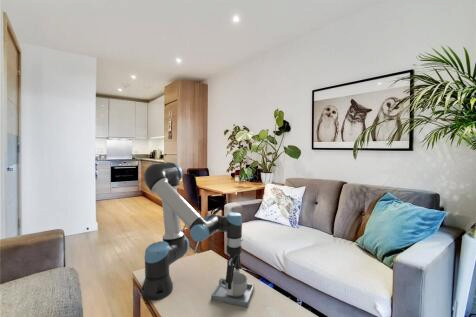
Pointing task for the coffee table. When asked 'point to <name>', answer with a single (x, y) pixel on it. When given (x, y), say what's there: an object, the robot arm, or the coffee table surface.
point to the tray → (222, 296)
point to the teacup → (237, 284)
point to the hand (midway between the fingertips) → (233, 287)
